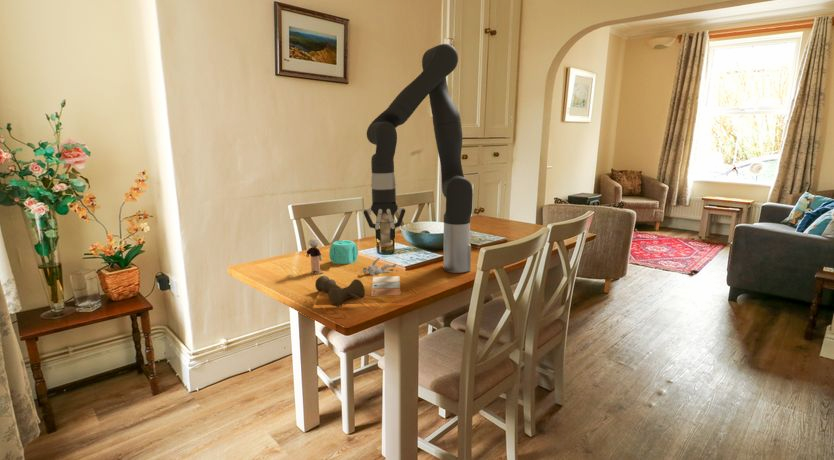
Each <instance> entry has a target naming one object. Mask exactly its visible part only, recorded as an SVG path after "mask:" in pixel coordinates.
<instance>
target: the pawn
mask: <svg viewBox="0 0 834 460" xmlns="http://www.w3.org/2000/svg"><path fill="white" fill-rule="evenodd" d="M390 219H391V218H390ZM379 228H380V241H378V246H379V247H381V248H382V247H383V248H389V247H392V246H393V245H394V244H393V241H394V240H391V225H390V222H389V218H388V214H387V213H382V215H381V220H380V225H379Z"/></svg>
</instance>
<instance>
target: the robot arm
mask: <svg viewBox="0 0 834 460" xmlns="http://www.w3.org/2000/svg"><path fill="white" fill-rule="evenodd" d="M458 62H459V54H458V51H457V50H456V48H455V47H454V46H453V45H451V44H449V43H448V44H447V43H442V44H439V45H438V44H437V45H436V46H432V47H431V48H429V49H427V50H425V52H424V54H423V55H422V60H421V67H422V71H421V73H420V74H419V75H418V76H416V77H415V78H414V80H413V81H411V82H410V83H408V84H407V86H405V87H404V88H403V89H402V90H401V91H400V92H399V93H398V94H397V96H396V97H394V100H393V101H391V103H390V104H389V106H388V107H387V108H386V109H385V110H384V111H383V112H382V113H380V114H379V115H377V117H375V118H374V119H373V120H372V121H371V123H370V124H369V125H368V127H367V129H366V138H367V140H368V142H369V143H370V144H373V145H375V153H373V154H372V156H371V162H370V164H371V166H370V167H371V178H370V179H371V181H370V182H371V184H370V187H371V202H372V203H371V206H370V207H369V208H367V209H364V210H363V215H364V218H365V219H366V222H367V224H368V226H369V228H370V229H374V231H375V239H376V240H377V241H378V242H379V241H380V226H379V225H380V220H381V215H382V213H387V214H388V218H389V222H390V225H391V241H394V239H395V238H396V229H397V228H400V227H401V225H402V222H403V218H404V216H405V214H406V208H404V207H399V206H398V204H397V200H396V199H397V197H396V194H397V192H396V188H397V187H396V186H397V185H396V176H395V161H394V159H395V158H394V157H395V153H396V149H397V148H396V147H397V144H398V134H397V127H400V126H402V125H403V124H405V123H406V122H407V121H408V120H409V118H410V117H411V116H412V115H413V114H414V113H415V111H416V110H417V109H418V108H419V106H420V105H421V103H422V102H423V101H424V100H425V99H426V98H427V96H428V98H429V103H430V108H431V109H430V111H431V117H432V125H433V132H434V138H435V142H436V148H437V152H438V153H437V154H438V158H439V162H440V173H441V175H440V177H441V178H440V179H441V190H442V194H443V196H444V198H445V211H444V213H443V214H444V215H443V270H444V271H445V272H448V273H453V274H454V273H455V274H458V273H459V274H462V273H467V272H471V270H472V269H471V267H472V245H471V239H470V238H471V216H472V214H473V196H474V191H473V190H474V189H473V186H472V183H471V181H470V180H469V179H467V178H466V177H465V176H464V172H463V165H462V158H461V157H462V150H463V149H462V148H463V147H462V146H463V129H462V121H461V115H460V112H459V110H458V108H457V106H456V104H455V103H454V101H453V99H452V98H451V95H450V93H449V89H448V83H447V76H449V75H450V74H451V73H452V72H454V70H455V69H456V67H458V66H457V65H458ZM371 212H372V213H373V214H374V216H376V219H375V223H374V222H373V220H372V217H371V214H372V213H371ZM396 212H397V214H398V218H397V220H396V222H395V221H394V218H393V216H394V215H395V213H396ZM390 218H391V219H390Z"/></svg>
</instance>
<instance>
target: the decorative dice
mask: <svg viewBox="0 0 834 460" xmlns="http://www.w3.org/2000/svg"><path fill="white" fill-rule="evenodd" d="M358 256H359V249H358V246H357V244H356V243H355V242H354V241H353V240H348V239H345V240H344V239H343V240H336V241H333V242H332V244H331V245H330V247H329V259H330V261H331V263H332V264H338V265H340V264H341V265H347V264H353V263H356V262H357V260H358Z"/></svg>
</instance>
